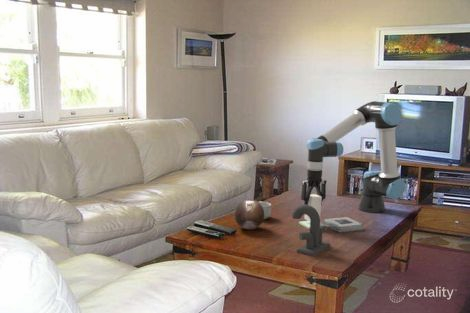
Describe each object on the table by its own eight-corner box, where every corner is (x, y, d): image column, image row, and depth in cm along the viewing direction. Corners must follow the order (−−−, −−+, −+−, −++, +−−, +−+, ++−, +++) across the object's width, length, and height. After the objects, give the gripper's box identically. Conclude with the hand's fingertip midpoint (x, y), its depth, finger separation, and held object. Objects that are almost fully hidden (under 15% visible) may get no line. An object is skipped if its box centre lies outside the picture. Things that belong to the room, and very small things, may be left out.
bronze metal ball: (238, 233, 256) (238, 204, 254) (231, 225, 271) (231, 196, 268) (267, 232, 260) (268, 203, 257) (259, 223, 274) (260, 195, 272)
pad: (315, 221, 280) (315, 220, 280) (325, 227, 271) (325, 225, 271) (298, 223, 276) (298, 221, 276) (308, 228, 267) (308, 227, 267)
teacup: (269, 221, 279) (269, 207, 277) (249, 219, 281) (249, 205, 279) (272, 214, 292) (273, 200, 291) (253, 213, 294) (253, 199, 293)
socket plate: (346, 222, 281) (347, 216, 281) (362, 229, 268) (362, 224, 268) (324, 224, 276) (324, 219, 275) (339, 232, 263) (339, 226, 262)
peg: (314, 217, 277) (315, 194, 275) (320, 221, 272) (321, 196, 270) (304, 218, 275) (305, 194, 273) (310, 222, 269) (311, 197, 267)
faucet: (300, 239, 251) (302, 198, 248) (330, 246, 242) (333, 204, 239) (281, 249, 236) (283, 206, 233) (313, 256, 228) (315, 212, 224)
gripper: (326, 167, 276) (324, 209, 280) (295, 168, 269) (293, 212, 272) (334, 169, 269) (332, 213, 273) (302, 171, 262) (300, 216, 266)
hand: (312, 212), depth 273 cm, fingers closed on peg, 6 cm apart
